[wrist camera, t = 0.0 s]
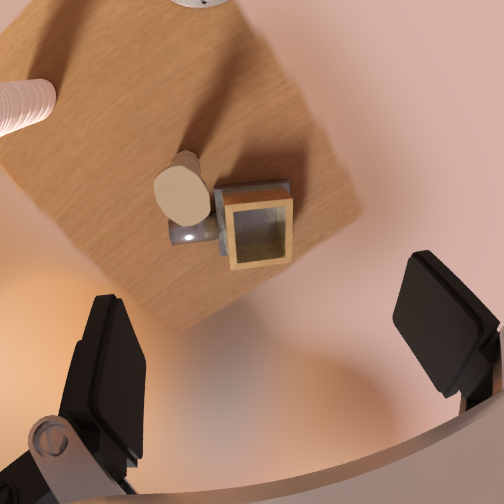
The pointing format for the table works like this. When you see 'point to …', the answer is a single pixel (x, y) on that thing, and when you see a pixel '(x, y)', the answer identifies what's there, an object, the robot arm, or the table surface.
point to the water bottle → (25, 103)
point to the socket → (246, 224)
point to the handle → (183, 190)
